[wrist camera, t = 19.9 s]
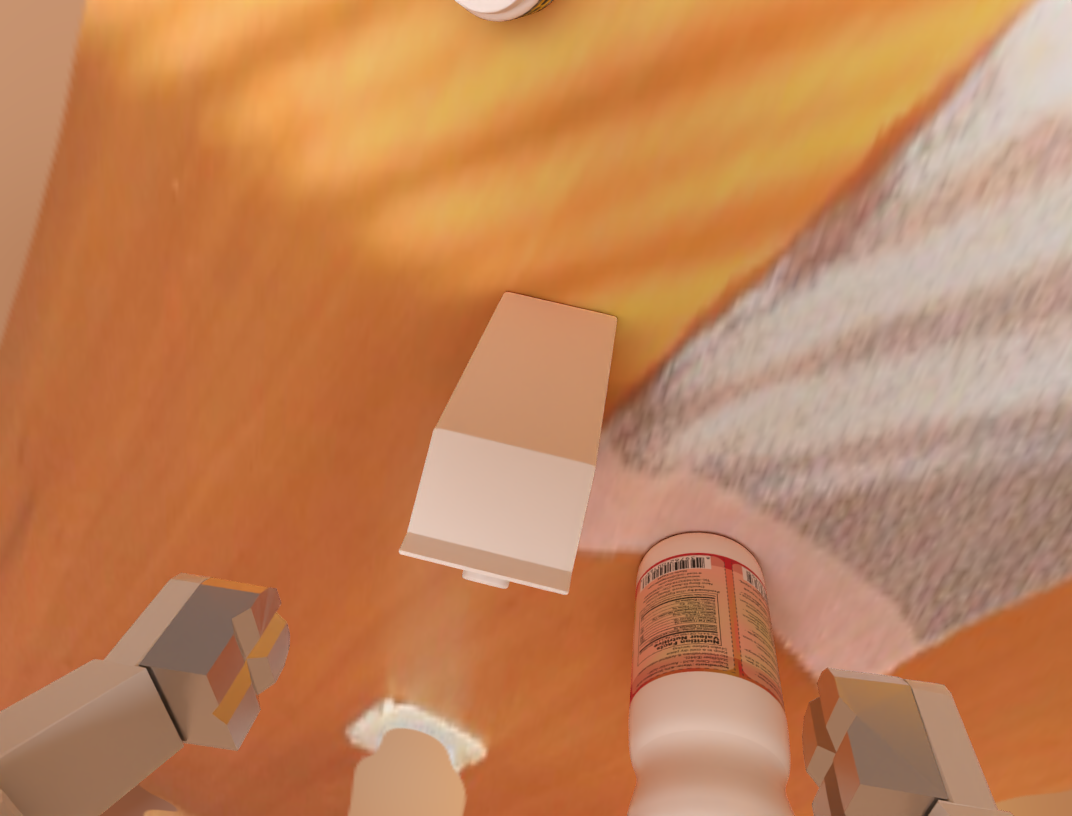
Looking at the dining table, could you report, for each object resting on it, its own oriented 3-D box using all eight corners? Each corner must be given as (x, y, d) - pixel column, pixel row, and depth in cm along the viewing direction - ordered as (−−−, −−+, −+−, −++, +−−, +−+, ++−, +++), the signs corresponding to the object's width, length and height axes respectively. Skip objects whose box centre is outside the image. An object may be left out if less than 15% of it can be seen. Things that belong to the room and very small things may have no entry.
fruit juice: (788, 559, 49) (896, 1086, 26) (722, 631, 54) (761, 1122, 31) (672, 510, 48) (676, 1007, 25) (616, 587, 54) (576, 1057, 30)
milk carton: (504, 289, 41) (403, 487, 25) (618, 315, 41) (586, 531, 25) (490, 385, 45) (394, 607, 29) (593, 409, 45) (552, 647, 29)
